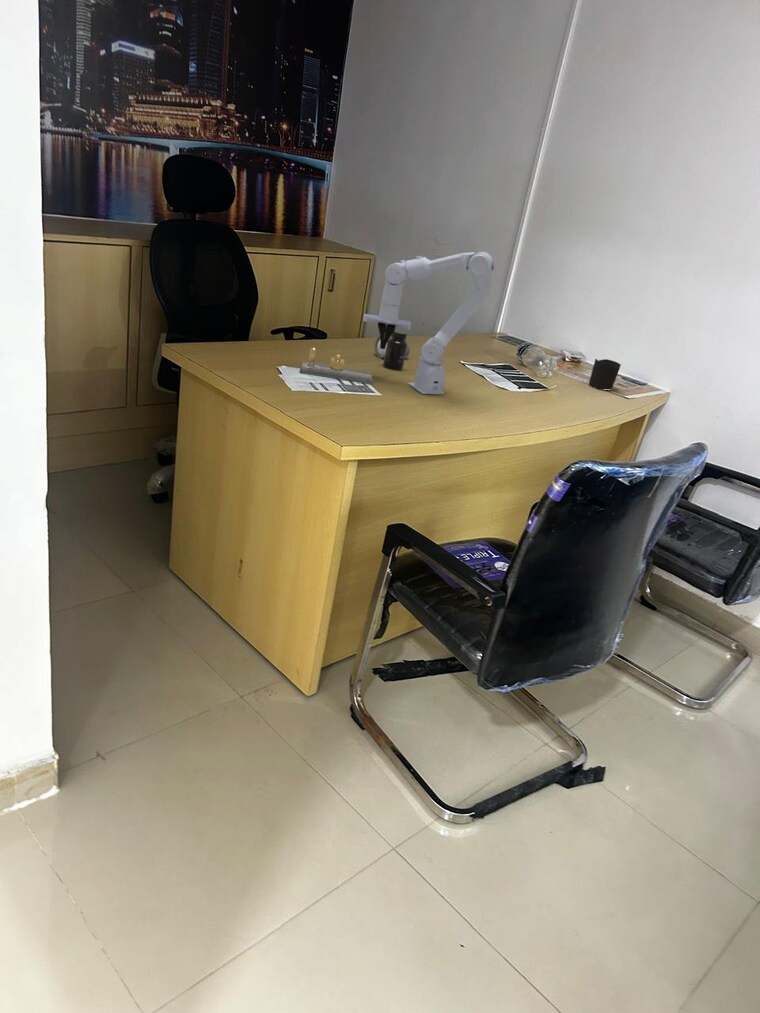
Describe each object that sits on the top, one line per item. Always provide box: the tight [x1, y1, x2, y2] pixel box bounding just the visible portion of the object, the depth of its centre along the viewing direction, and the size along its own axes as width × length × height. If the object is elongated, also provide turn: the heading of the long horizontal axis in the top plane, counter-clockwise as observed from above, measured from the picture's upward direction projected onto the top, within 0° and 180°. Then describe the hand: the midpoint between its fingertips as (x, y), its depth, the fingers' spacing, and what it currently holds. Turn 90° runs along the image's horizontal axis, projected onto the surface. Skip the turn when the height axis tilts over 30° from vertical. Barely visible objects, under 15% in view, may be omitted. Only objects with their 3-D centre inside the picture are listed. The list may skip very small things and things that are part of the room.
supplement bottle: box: [383, 329, 408, 371], centre depth 241 cm, size 7×7×12 cm
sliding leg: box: [329, 353, 345, 370], centre depth 221 cm, size 4×6×4 cm, turn 3°
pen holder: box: [588, 358, 622, 390], centre depth 271 cm, size 9×9×10 cm
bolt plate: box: [299, 347, 373, 385], centre depth 222 cm, size 22×10×7 cm, turn 93°
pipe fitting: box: [374, 329, 411, 359], centre depth 254 cm, size 12×8×10 cm
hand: (382, 348), depth 225 cm, fingers closed
